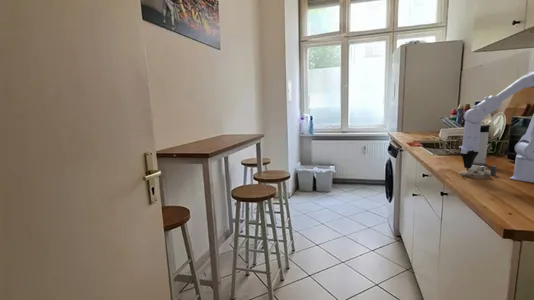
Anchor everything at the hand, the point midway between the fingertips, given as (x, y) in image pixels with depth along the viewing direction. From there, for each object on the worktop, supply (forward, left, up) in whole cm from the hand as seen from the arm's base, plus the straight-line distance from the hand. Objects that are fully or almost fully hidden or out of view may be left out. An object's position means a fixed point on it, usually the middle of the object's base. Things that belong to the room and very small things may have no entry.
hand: (467, 167), depth 125 cm
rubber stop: (-7, -9, -4) cm, 12 cm away
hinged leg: (-2, -5, -2) cm, 5 cm away
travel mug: (+5, -30, -4) cm, 31 cm away
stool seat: (-2, -2, -3) cm, 5 cm away
